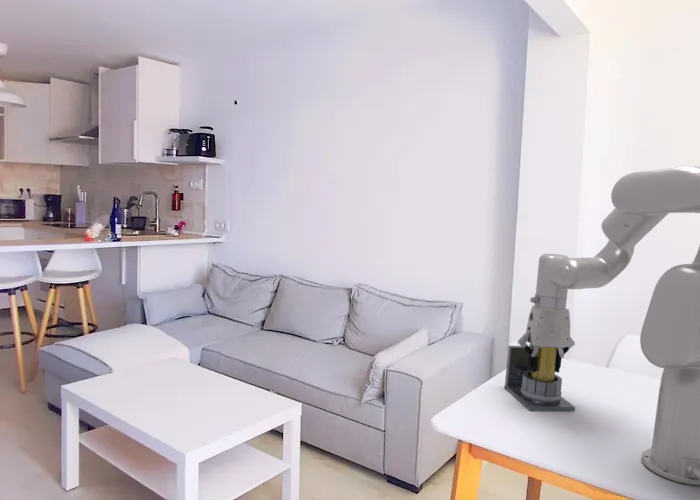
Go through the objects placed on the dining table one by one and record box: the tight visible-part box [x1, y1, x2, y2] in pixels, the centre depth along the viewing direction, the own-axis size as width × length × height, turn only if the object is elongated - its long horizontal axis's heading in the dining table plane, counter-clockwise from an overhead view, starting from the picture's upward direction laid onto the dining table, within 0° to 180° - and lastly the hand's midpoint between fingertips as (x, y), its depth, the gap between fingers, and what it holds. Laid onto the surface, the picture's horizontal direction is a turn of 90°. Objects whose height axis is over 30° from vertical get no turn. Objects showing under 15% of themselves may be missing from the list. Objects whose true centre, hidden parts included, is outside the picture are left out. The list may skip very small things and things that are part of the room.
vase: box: [531, 347, 557, 382], centre depth 138 cm, size 6×6×14 cm
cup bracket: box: [504, 345, 576, 412], centre depth 140 cm, size 15×12×12 cm
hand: (543, 369), depth 138 cm, fingers closed on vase, 5 cm apart
